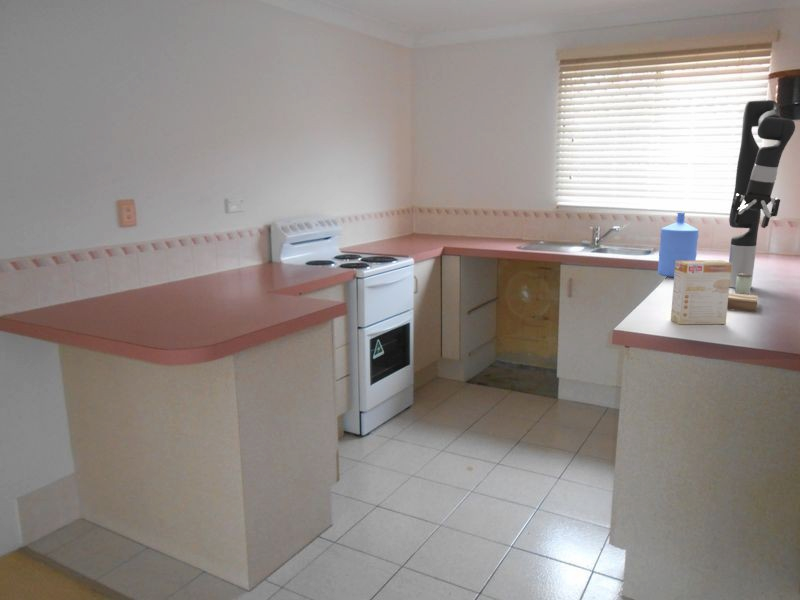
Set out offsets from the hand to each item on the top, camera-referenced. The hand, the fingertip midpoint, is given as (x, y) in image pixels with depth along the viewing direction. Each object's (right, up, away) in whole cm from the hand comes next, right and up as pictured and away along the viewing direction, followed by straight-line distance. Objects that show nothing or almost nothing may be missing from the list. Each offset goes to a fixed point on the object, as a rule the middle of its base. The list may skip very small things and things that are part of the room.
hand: (749, 226), depth 227 cm
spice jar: (+5, -26, +16) cm, 31 cm away
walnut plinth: (-1, -28, +4) cm, 28 cm away
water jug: (+5, -14, +72) cm, 74 cm away
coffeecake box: (-26, -33, -18) cm, 45 cm away
